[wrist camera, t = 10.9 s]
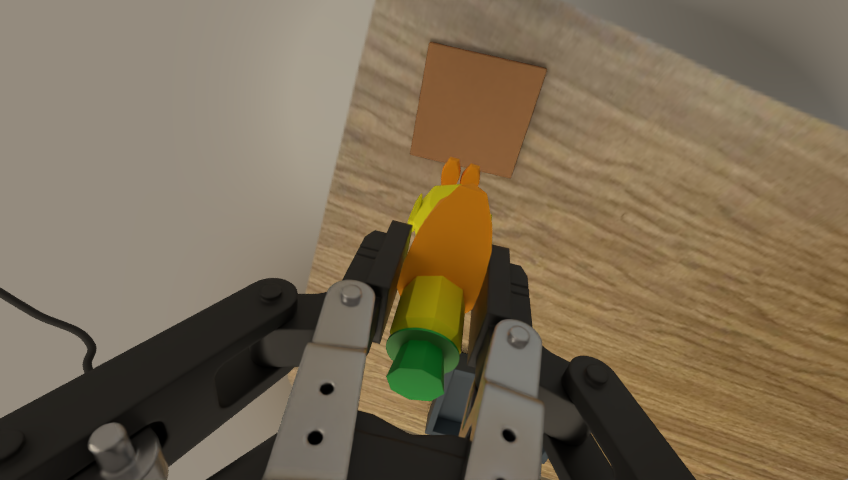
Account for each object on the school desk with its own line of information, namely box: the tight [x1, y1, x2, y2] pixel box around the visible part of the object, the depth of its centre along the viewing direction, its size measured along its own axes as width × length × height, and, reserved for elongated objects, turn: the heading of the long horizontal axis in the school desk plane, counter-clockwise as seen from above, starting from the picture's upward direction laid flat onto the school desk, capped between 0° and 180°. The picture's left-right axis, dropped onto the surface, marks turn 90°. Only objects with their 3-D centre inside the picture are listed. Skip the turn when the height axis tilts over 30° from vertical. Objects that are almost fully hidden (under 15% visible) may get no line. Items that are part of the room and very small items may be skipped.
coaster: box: [410, 42, 547, 178], centre depth 29 cm, size 8×8×1 cm
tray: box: [425, 352, 548, 464], centre depth 45 cm, size 15×13×2 cm
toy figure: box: [386, 157, 492, 401], centre depth 15 cm, size 7×4×12 cm, turn 166°
